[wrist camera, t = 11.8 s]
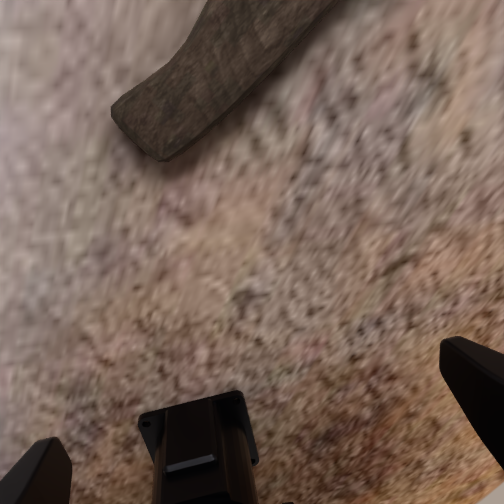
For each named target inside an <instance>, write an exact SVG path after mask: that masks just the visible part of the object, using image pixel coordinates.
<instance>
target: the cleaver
mask: <svg viewBox="0 0 504 504" xmlns="http://www.w3.org/2000/svg"><path fill="white" fill-rule="evenodd" d="M338 1H339V0H208V1H207V2H206V4H205V6H204V8H203V10H202V12H201V14H200V16H199V18H198V20H197V22H196V23H195V25H194V27H193V29H192V31H191V33H190V35H189V36H188V38H187V40H186V42H185V43H184V44H183V45H182V47H181V48H180V49H179V50H178V52H177V53H176V54H175V55H174V56H173V58H172V59H171V60H170V61H169V62H168V63H167V64H166V65H164V66H163V67H162V68H160V69H159V70H158V71H156V72H155V73H154V74H152V75H151V76H150V77H149V78H147V79H146V80H145V81H143V82H142V83H140V84H139V85H137V86H136V87H134V88H133V89H131V90H130V91H128V92H127V93H125V94H124V95H122V96H121V97H120V98H119V99H118V100H117V101H116V102H115V103H114V104H113V105H112V106H111V117H112V119H113V120H114V121H115V123H116V124H117V125H118V126H119V128H120V129H121V130H122V131H123V132H124V133H125V134H126V135H127V136H128V137H129V138H130V139H131V140H132V141H133V142H134V143H135V144H136V145H138V146H139V147H140V148H141V149H142V150H143V151H144V152H145V153H146V154H148V155H149V156H151V157H152V158H154V159H155V160H157V161H159V162H169V161H170V160H172V159H174V158H175V157H177V156H179V155H181V154H182V153H183V152H185V151H186V150H187V149H188V148H190V147H191V146H192V145H193V144H195V143H196V142H197V141H198V140H200V139H201V138H202V137H203V136H204V135H206V134H207V133H208V132H209V131H210V130H211V129H212V128H214V127H215V126H216V125H217V124H218V123H219V122H221V121H222V120H223V119H224V118H225V117H226V116H227V115H228V114H229V113H230V112H231V111H232V110H233V109H235V108H236V107H237V106H238V105H239V104H240V103H241V102H242V101H243V100H244V99H245V98H246V97H247V96H248V95H249V94H250V93H251V92H252V91H253V90H254V89H255V88H256V87H257V86H258V85H259V84H260V83H261V82H262V81H263V80H264V79H265V78H266V77H267V76H268V75H269V74H270V73H271V72H272V71H273V70H274V69H275V68H276V67H277V66H278V65H279V64H280V63H281V62H282V61H283V60H284V59H285V58H286V57H287V56H288V55H289V54H290V52H291V51H292V50H293V49H294V48H295V47H296V46H297V45H298V44H299V43H300V42H301V41H302V40H303V39H304V38H305V37H306V36H307V35H308V33H309V32H310V31H311V30H312V29H313V28H314V27H315V26H316V25H317V24H318V23H319V22H320V21H321V20H322V18H323V17H324V16H325V15H326V14H327V13H328V12H329V11H330V10H331V9H332V8H333V7H334V6H335V4H336V3H337V2H338Z"/></svg>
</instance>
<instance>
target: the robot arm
mask: <svg viewBox="0 0 504 504" xmlns="http://www.w3.org/2000/svg"><path fill="white" fill-rule="evenodd" d="M439 368H440V372H441V374H442V377H443V378H444V380H445V382H446V383H447V385H448V387H449V388H450V390H451V392H452V393H453V395H454V397H455V398H456V400H457V402H458V403H459V405H460V407H461V408H462V410H463V412H464V413H465V415H466V417H467V418H468V420H469V422H470V423H471V425H472V427H473V428H474V430H475V431H476V433H477V434H478V436H479V437H480V439H481V440H482V442H483V443H484V444H485V446H486V447H487V448H488V450H489V451H490V452H491V454H492V455H493V457H494V458H495V459H496V461H497V462H498V463H499V465H500V466H501V467H502V469H503V470H504V354H502V353H500V352H497V351H495V350H492V349H490V348H488V347H485V346H483V345H480V344H478V343H475V342H473V341H471V340H468V339H466V338H463V337H461V336H454V337H450V338H446V339H443V340H442V341H441V343H440V357H439ZM235 398H238V399H237V400H233V399H235ZM144 421H149V422H144ZM138 427H139V429H140V432H141V434H142V437H143V439H144V441H145V444H146V446H147V449H148V451H149V453H150V456H151V458H152V461H153V463H154V476H153V490H152V504H259V503H258V498H257V492H256V486H255V481H254V475H253V469H252V467H253V466H255V465H257V464H258V462H259V457H258V452H257V448H256V444H255V440H254V436H253V432H252V427H251V423H250V419H249V415H248V411H247V407H246V403H245V399H244V395H243V393H242V392H241V391H238V390H236V391H231V392H227V393H223V394H219V395H215V396H211V397H207V398H203V399H199V400H195V401H191V402H187V403H183V404H179V405H175V406H171V407H167V408H163V409H159V410H155V411H151V412H147V413H144V414H141V415H140V416H139V419H138ZM71 479H72V463H71V460H70V458H69V456H68V454H67V452H66V450H65V449H64V447H63V445H62V443H61V441H60V440H59V439H58V438H57V437H50V438H46V439H42V440H39V441H37V442H35V443H34V444H33V445H32V446H31V447H30V449H29V450H28V451H27V452H26V453H25V454H24V455H23V456H22V457H21V459H20V460H19V461H18V462H17V463H16V464H15V465H14V466H13V467H12V468H11V470H10V471H9V472H8V473H7V474H6V475H5V476H4V477H3V478H2V480H1V481H0V504H69V498H70V488H71ZM282 504H294V503H293V502H286V503H282Z"/></svg>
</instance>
